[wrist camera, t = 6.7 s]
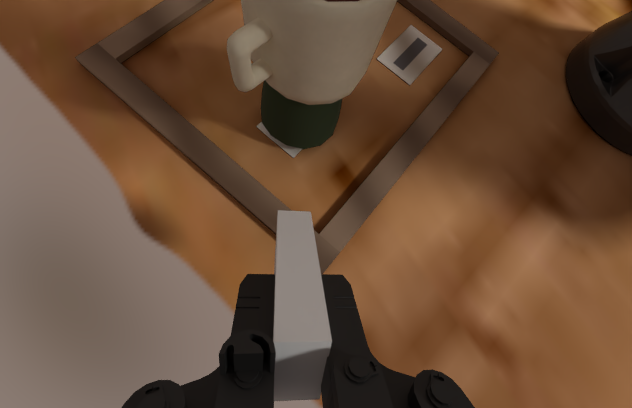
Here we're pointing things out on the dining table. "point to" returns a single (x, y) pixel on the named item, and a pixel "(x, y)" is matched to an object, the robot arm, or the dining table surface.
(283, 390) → the robot arm
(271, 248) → the dining table surface
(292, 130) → the character mug
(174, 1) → the label frame
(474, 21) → the dining table surface
